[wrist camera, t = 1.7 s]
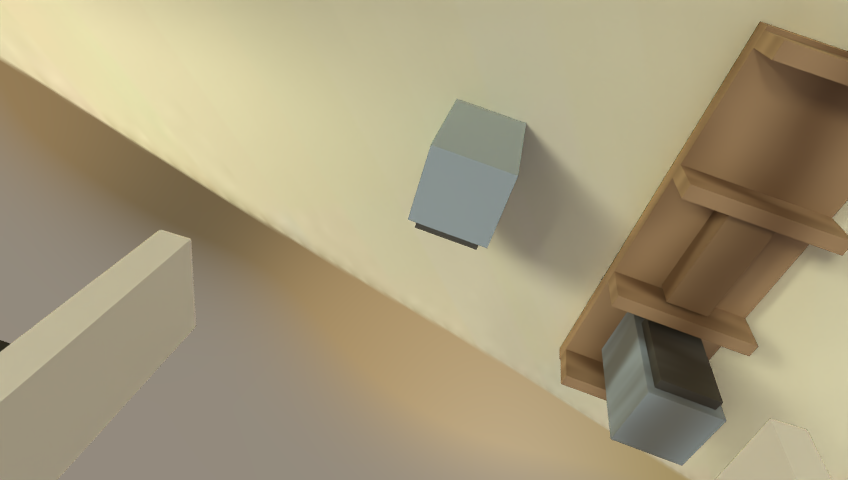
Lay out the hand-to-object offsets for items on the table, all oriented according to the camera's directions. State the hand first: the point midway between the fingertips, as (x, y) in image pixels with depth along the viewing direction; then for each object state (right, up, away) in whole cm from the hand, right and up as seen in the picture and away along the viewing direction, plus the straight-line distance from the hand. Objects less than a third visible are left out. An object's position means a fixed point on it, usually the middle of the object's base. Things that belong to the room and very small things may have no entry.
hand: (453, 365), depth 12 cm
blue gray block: (+2, +8, +18) cm, 20 cm away
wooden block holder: (+15, +3, +18) cm, 23 cm away
